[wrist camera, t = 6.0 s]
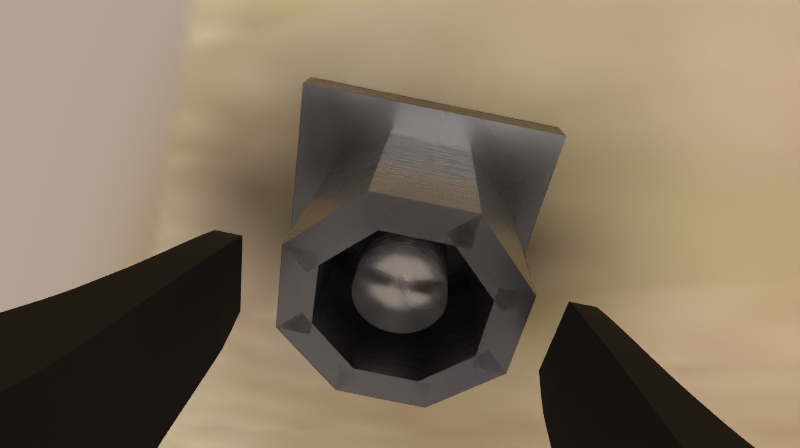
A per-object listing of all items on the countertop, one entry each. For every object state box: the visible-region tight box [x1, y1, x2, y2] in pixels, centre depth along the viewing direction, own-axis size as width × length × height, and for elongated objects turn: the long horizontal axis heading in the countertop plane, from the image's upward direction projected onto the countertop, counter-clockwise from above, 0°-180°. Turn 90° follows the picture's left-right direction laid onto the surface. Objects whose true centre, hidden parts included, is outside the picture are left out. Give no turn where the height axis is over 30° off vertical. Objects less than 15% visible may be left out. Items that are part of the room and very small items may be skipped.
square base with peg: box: [291, 78, 566, 333], centre depth 12 cm, size 7×7×4 cm
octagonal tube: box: [276, 134, 536, 408], centre depth 12 cm, size 5×5×4 cm
